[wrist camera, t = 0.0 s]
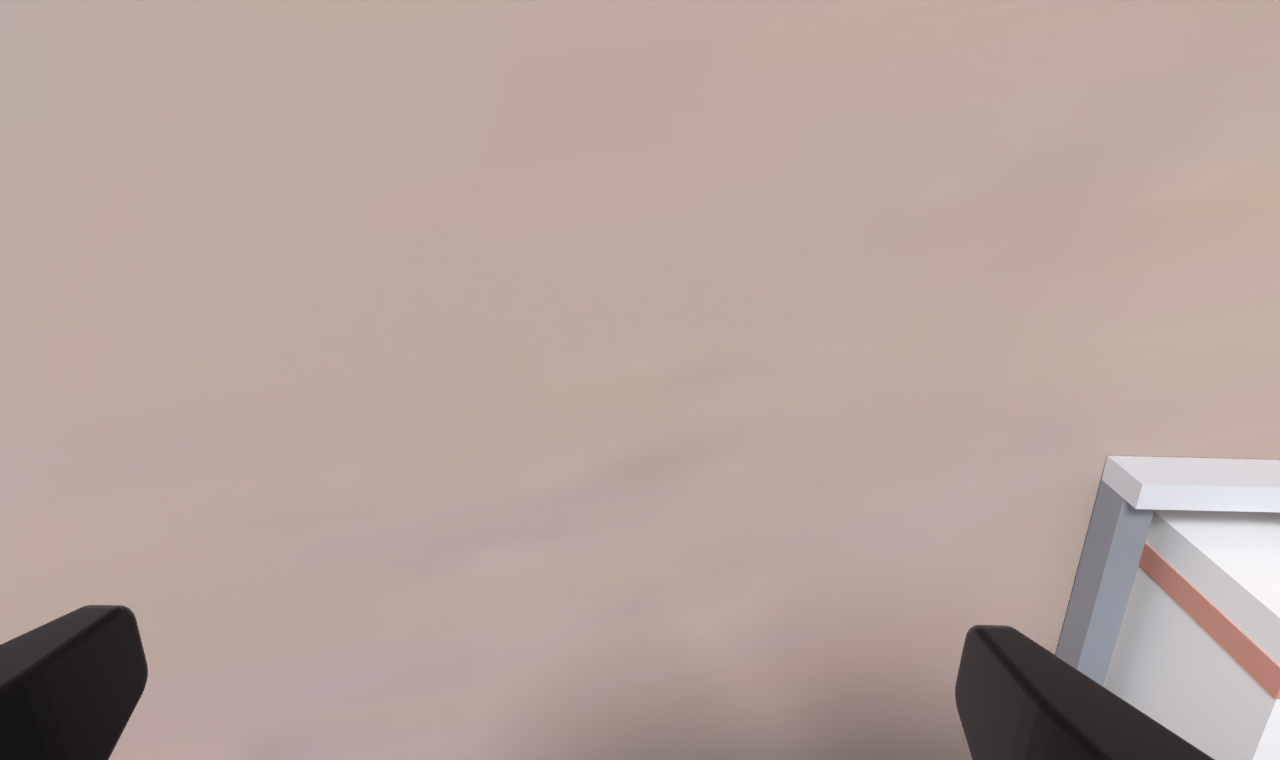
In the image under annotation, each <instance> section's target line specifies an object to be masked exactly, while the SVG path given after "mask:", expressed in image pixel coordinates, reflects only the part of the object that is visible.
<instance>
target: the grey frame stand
mask: <svg viewBox="0 0 1280 760" xmlns="http://www.w3.org/2000/svg"><path fill="white" fill-rule="evenodd" d="M1155 510H1194V511H1237V512H1280V460H1261V459H1219V458H1177V457H1134V456H1107V460H1106V464H1105V468H1104V472H1103V475H1102V479H1101V483H1100V487H1099V491H1098V495H1097V498H1096V502H1095V506H1094V510H1093V514H1092V518H1091V521H1090V525H1089V529H1088V533H1087V537H1086V540H1085V544H1084V548H1083V552H1082V556H1081V560H1080V563H1079V567H1078V571H1077V575H1076V579H1075V583H1074V586H1073V590H1072V594H1071V598H1070V602H1069V606H1068V609H1067V613H1066V617H1065V621H1064V625H1063V629H1062V632H1061V636H1060V640H1059V644H1058V648H1057V652H1056V656H1057V657H1059V658H1060V659H1062V660H1063V661H1065V662H1066V663H1068V664H1069V665H1071V666H1072V667H1074V668H1076V669H1077V670H1079V671H1080V672H1082V673H1083V674H1085V675H1086V676H1088V677H1089V678H1091V679H1092V680H1094V681H1095V682H1097V683H1098V684H1100V685H1101V686H1103V685H1104V682H1105V678H1106V675H1107V671H1108V668H1109V664H1110V661H1111V658H1112V654H1113V651H1114V647H1115V644H1116V641H1117V637H1118V634H1119V630H1120V627H1121V623H1122V620H1123V617H1124V613H1125V610H1126V606H1127V603H1128V600H1129V596H1130V593H1131V589H1132V586H1133V582H1134V579H1135V576H1136V572H1137V569H1138V565H1139V562H1140V559H1141V555H1142V552H1143V548H1144V545H1145V541H1146V538H1147V535H1148V531H1149V528H1150V524H1151V521H1152V517H1153V514H1154V511H1155Z"/></svg>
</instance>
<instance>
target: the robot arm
mask: <svg viewBox="0 0 1280 760" xmlns="http://www.w3.org/2000/svg"><path fill="white" fill-rule="evenodd" d="M147 676H148V668H147V662H146V658H145V654H144V650H143V646H142V642H141V638H140V634H139V630H138V626H137V621H136V618H135V615H134V613H133V612H132V611H131V610H130V609H129V608H127V607H125V606H120V605H89V606H84V607H82V608H79V609H77V610H75V611H73V612H71V613H68V614H66V615H64V616H62V617H60V618H58V619H56V620H53V621H51V622H49V623H47V624H45V625H43V626H40V627H38V628H36V629H34V630H32V631H30V632H27V633H25V634H23V635H21V636H19V637H17V638H14V639H12V640H10V641H8V642H6V643H4V644H1V645H0V760H108V759H109V757H110V755H111V754H112V752H113V750H114V748H115V746H116V744H117V742H118V740H119V738H120V736H121V734H122V732H123V730H124V728H125V726H126V724H127V722H128V720H129V718H130V717H131V715H132V713H133V711H134V709H135V707H136V705H137V703H138V701H139V699H140V697H141V695H142V693H143V691H144V688H145V685H146V682H147ZM955 697H956V705H957V709H958V713H959V716H960V719H961V723H962V726H963V729H964V733H965V736H966V739H967V743H968V746H969V749H970V752H971V756H972V759H973V760H1215V759H1213V758H1212V757H1210V756H1208V755H1207V754H1205V753H1204V752H1202V751H1201V750H1199V749H1198V748H1196V747H1195V746H1193V745H1192V744H1190V743H1189V742H1187V741H1186V740H1184V739H1182V738H1181V737H1179V736H1178V735H1176V734H1175V733H1173V732H1172V731H1170V730H1169V729H1167V728H1166V727H1164V726H1163V725H1161V724H1160V723H1158V722H1156V721H1155V720H1153V719H1152V718H1150V717H1149V716H1147V715H1146V714H1144V713H1143V712H1141V711H1140V710H1138V709H1137V708H1135V707H1134V706H1132V705H1131V704H1129V703H1127V702H1126V701H1124V700H1123V699H1121V698H1120V697H1118V696H1117V695H1115V694H1114V693H1112V692H1111V691H1109V690H1108V689H1106V688H1105V687H1103V686H1101V685H1100V684H1098V683H1097V682H1095V681H1094V680H1092V679H1091V678H1089V677H1088V676H1086V675H1085V674H1083V673H1082V672H1080V671H1079V670H1077V669H1076V668H1074V667H1072V666H1071V665H1069V664H1068V663H1066V662H1065V661H1063V660H1062V659H1060V658H1059V657H1057V656H1056V655H1054V654H1053V653H1051V652H1050V651H1048V650H1046V649H1045V648H1043V647H1042V646H1040V645H1039V644H1037V643H1036V642H1034V641H1033V640H1031V639H1030V638H1028V637H1027V636H1025V635H1024V634H1022V633H1020V632H1019V631H1017V630H1016V629H1014V628H1012V627H1009V626H1002V625H975V626H973V627H972V628H970V629H969V631H968V633H967V635H966V638H965V643H964V647H963V652H962V657H961V662H960V667H959V671H958V676H957V681H956V687H955Z"/></svg>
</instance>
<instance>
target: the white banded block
mask: <svg viewBox="0 0 1280 760" xmlns="http://www.w3.org/2000/svg"><path fill="white" fill-rule="evenodd" d="M1103 687H1105V688H1106V689H1108V690H1109V691H1111V692H1112V693H1114V694H1115V695H1117V696H1118V697H1120V698H1121V699H1123V700H1124V701H1126V702H1127V703H1129V704H1131V705H1132V706H1134V707H1135V708H1137V709H1138V710H1140V711H1141V712H1143V713H1144V714H1146V715H1147V716H1149V717H1150V718H1152V719H1153V720H1155V721H1156V722H1158V723H1160V724H1161V725H1163V726H1164V727H1166V728H1167V729H1169V730H1170V731H1172V732H1173V733H1175V734H1176V735H1178V736H1179V737H1181V738H1182V739H1184V740H1186V741H1187V742H1189V743H1190V744H1192V745H1193V746H1195V747H1196V748H1198V749H1199V750H1201V751H1202V752H1204V753H1205V754H1207V755H1208V756H1210V757H1212V758H1213V759H1215V760H1280V512H1237V511H1194V510H1155V511H1154V514H1153V517H1152V521H1151V524H1150V528H1149V531H1148V535H1147V538H1146V541H1145V545H1144V548H1143V552H1142V555H1141V559H1140V562H1139V565H1138V569H1137V572H1136V576H1135V579H1134V582H1133V586H1132V589H1131V593H1130V596H1129V600H1128V603H1127V606H1126V610H1125V613H1124V617H1123V620H1122V623H1121V627H1120V630H1119V634H1118V637H1117V641H1116V644H1115V647H1114V651H1113V654H1112V658H1111V661H1110V664H1109V668H1108V671H1107V675H1106V678H1105V682H1104V685H1103Z"/></svg>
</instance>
